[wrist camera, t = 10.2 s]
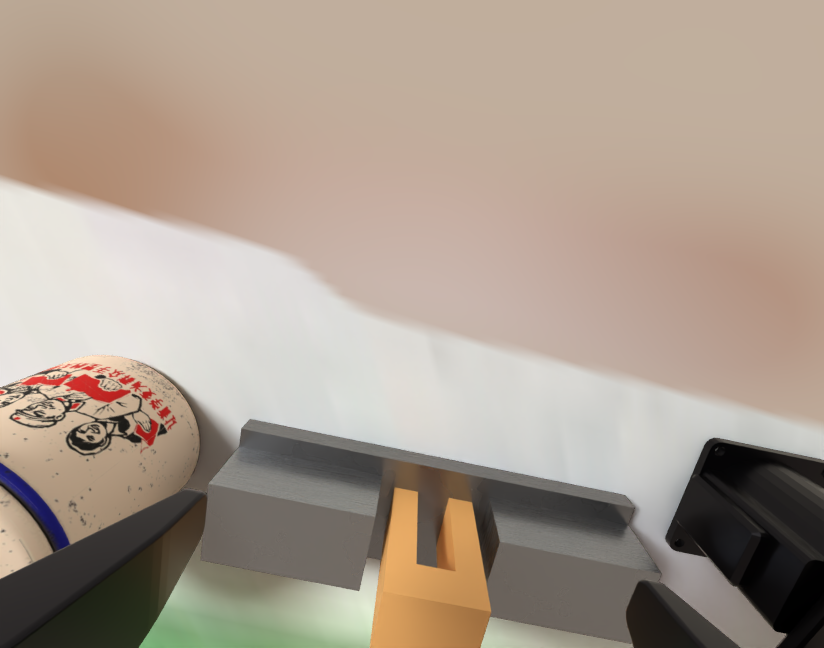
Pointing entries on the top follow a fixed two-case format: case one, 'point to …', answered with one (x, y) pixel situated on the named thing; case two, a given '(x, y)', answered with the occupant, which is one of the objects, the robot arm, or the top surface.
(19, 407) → the teacup with lid
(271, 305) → the top surface
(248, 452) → the rail
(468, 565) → the clip
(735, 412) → the top surface
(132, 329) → the top surface
